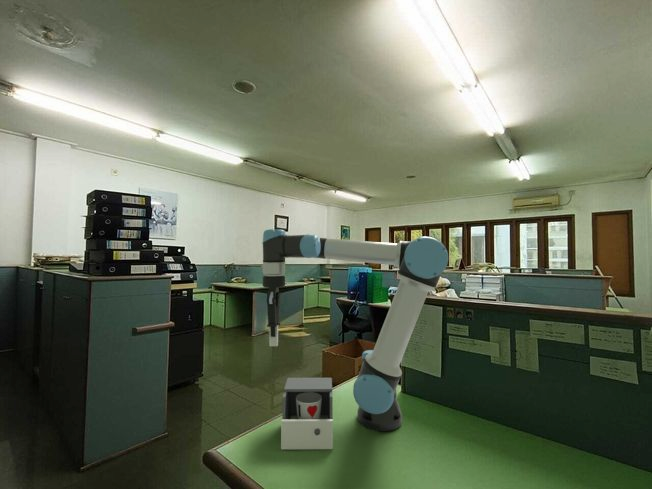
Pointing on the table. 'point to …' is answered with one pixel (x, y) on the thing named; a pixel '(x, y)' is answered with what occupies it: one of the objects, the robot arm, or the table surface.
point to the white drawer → (307, 433)
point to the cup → (308, 405)
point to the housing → (307, 385)
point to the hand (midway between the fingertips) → (273, 345)
